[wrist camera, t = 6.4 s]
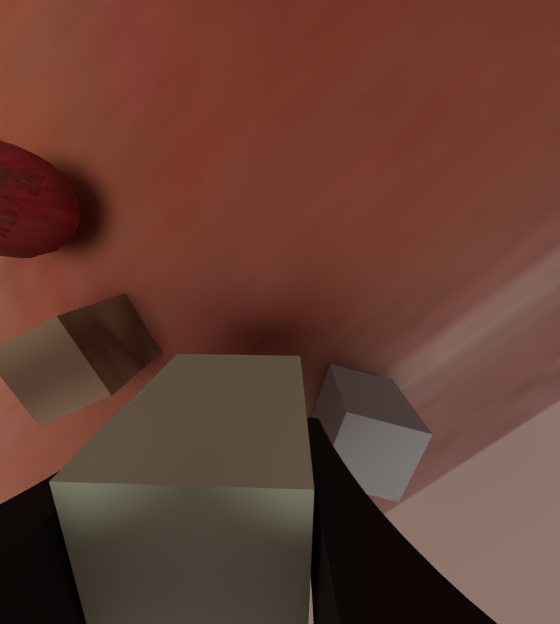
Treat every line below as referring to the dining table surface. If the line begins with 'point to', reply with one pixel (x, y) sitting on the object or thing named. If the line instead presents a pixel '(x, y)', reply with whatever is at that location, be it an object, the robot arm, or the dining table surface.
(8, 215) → the onion
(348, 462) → the slate block
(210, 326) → the dining table surface
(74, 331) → the walnut block
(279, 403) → the sage block
